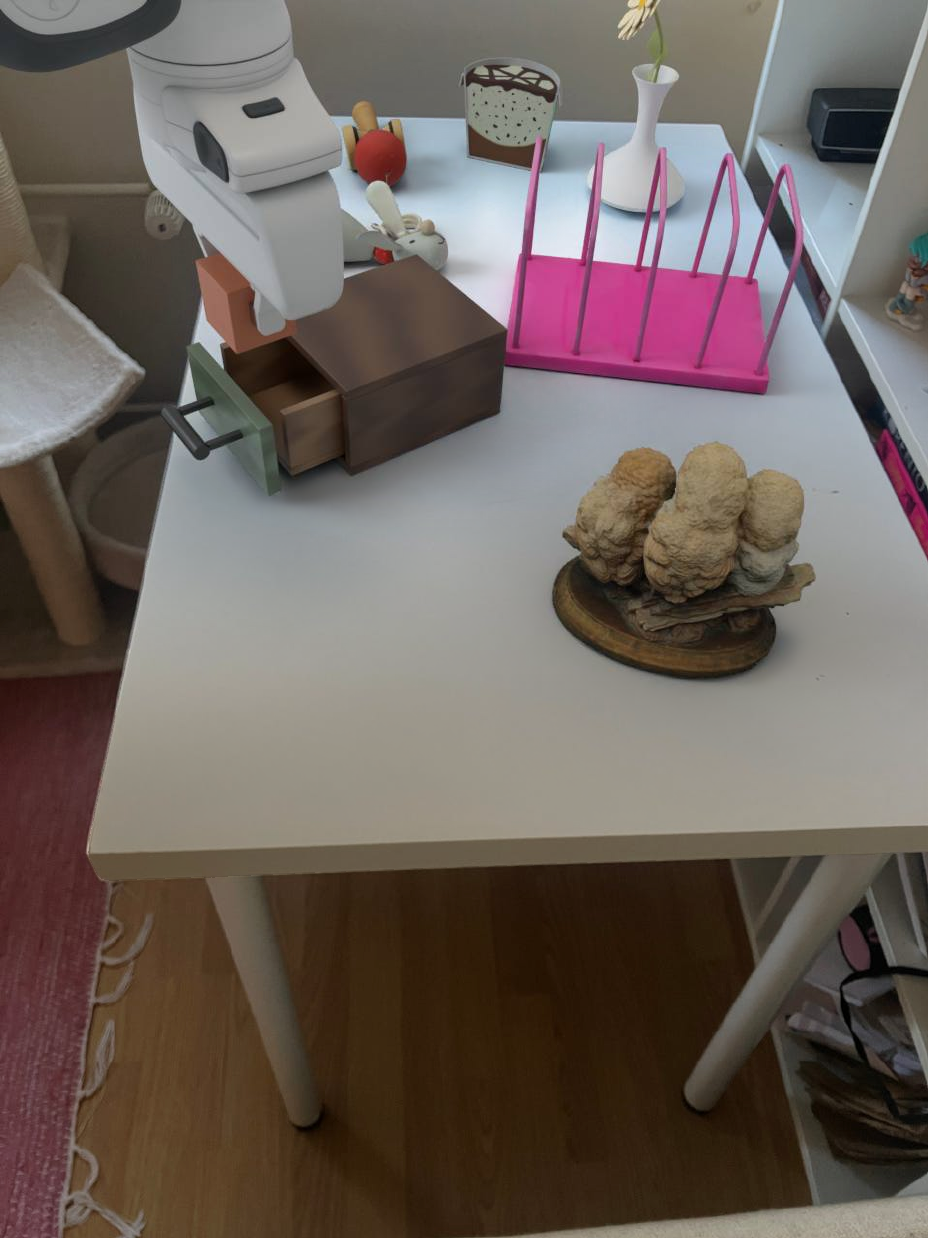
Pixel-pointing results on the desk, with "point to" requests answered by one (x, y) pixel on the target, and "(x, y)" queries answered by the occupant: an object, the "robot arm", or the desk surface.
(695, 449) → the owl figurine
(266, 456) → the drawer
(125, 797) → the desk surface
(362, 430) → the cabinet
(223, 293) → the block
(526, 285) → the file sorter
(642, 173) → the flower in vase
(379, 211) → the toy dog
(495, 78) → the food container
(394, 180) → the kendama
